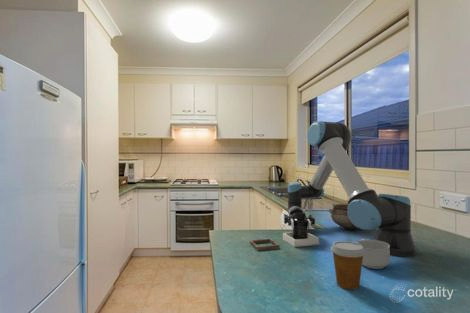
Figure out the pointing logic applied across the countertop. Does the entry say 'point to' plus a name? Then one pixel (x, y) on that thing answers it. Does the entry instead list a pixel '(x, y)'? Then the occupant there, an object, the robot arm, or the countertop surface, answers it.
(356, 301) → the countertop surface
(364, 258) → the teacup
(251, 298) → the countertop surface
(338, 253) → the disposable coffee cup
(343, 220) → the cooking pot
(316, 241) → the cream tray
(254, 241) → the walnut collar
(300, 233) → the supplement bottle
